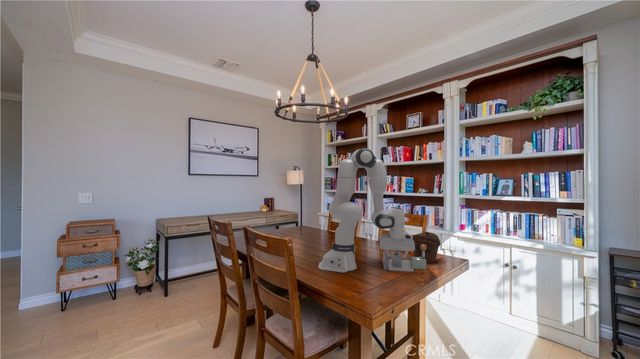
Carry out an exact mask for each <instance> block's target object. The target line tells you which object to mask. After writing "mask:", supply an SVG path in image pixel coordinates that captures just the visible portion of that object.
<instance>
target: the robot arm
mask: <svg viewBox="0 0 640 359" xmlns="http://www.w3.org/2000/svg"><path fill="white" fill-rule="evenodd" d="M360 168H361V169H362V168H364V170H365V171H366V173H367V182H368V187H369V190H370V193H371V196H372V202H373V213H372V215H371V222H372V224H373V225H375V227H377V228H378V229H380V230H386V229H389V233H381V234H379V236H378V239H379V250H383V251H385V252H387V255H388V258H392V253H389V251H398V252H401V251H402V252H405V253H404V254H402V259H406V258H407V255H408V253H409V252H413V251H414V250H415V244H414V241H413V236H412V235H413V234H412V233H410V232H407V231H406V230H405V224H406V215H405V210H404V209H402V208H400V207H396V206H391V207H390V208H389V209H387V210H385V206H384V204H385V203H384V194H385V191H386V190H387V188H388V187H387V186H388V178H387V171H386V167H385V164H384V161H383V160H381V159H380V158H377V157H376V156H375V154H374V152H373V151H372V149H370V148H367V147H366V148H365V147H362V148H359V149H356V150H355V151H353V152H352V153H351V155H350V156H349V158H345V159H342V160H341V161H339V165H338V170H337V179H336V189H335V190H336V191H335V194H334V196H333V197H334V198H333V199H332V201H331V202H330V204H329V205H328V213H329V214H330V216H332V217H334V218H335V219H339V224H338V226H337V227H336V229H335V230H334V232H335V233H334V238H335V239H334V240H335V241H332V242H331V249H330V250H329V251H327V252H326V253H324V255H323V257H322V260H321V261H320V262H319V263H318V266H317V267H318V269H319V270H322V271H329V272H336V273H337V272H338V273H347V272H351V271H354V270H356V269H357V263H356V258H355V253H356V245H355V244H356V243H355V229H356V225H357V224H358V221H359V220H360V219H361V218H362V216H363V209H362V207H361V205H359V204H357V203H355V202H352V201H350V200H351V198H352V195H353V194H354V193H356V185H357V182H356V181H357V171H358V169H360Z"/></svg>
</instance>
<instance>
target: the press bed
mask: <svg viewBox="0 0 640 359" xmlns="http://www.w3.org/2000/svg"><path fill="white" fill-rule="evenodd" d="M382 256H383V258H382V265H383V269H384V271H397V272H398V271H399V272H400V271H401V272H414V270H415V269H413V267H412V265H411V263H410V259H409V260H408V259H402V266H395V265H393V264H392V258H390V257H388V254H387V252H386V251H383V254H382Z"/></svg>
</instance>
